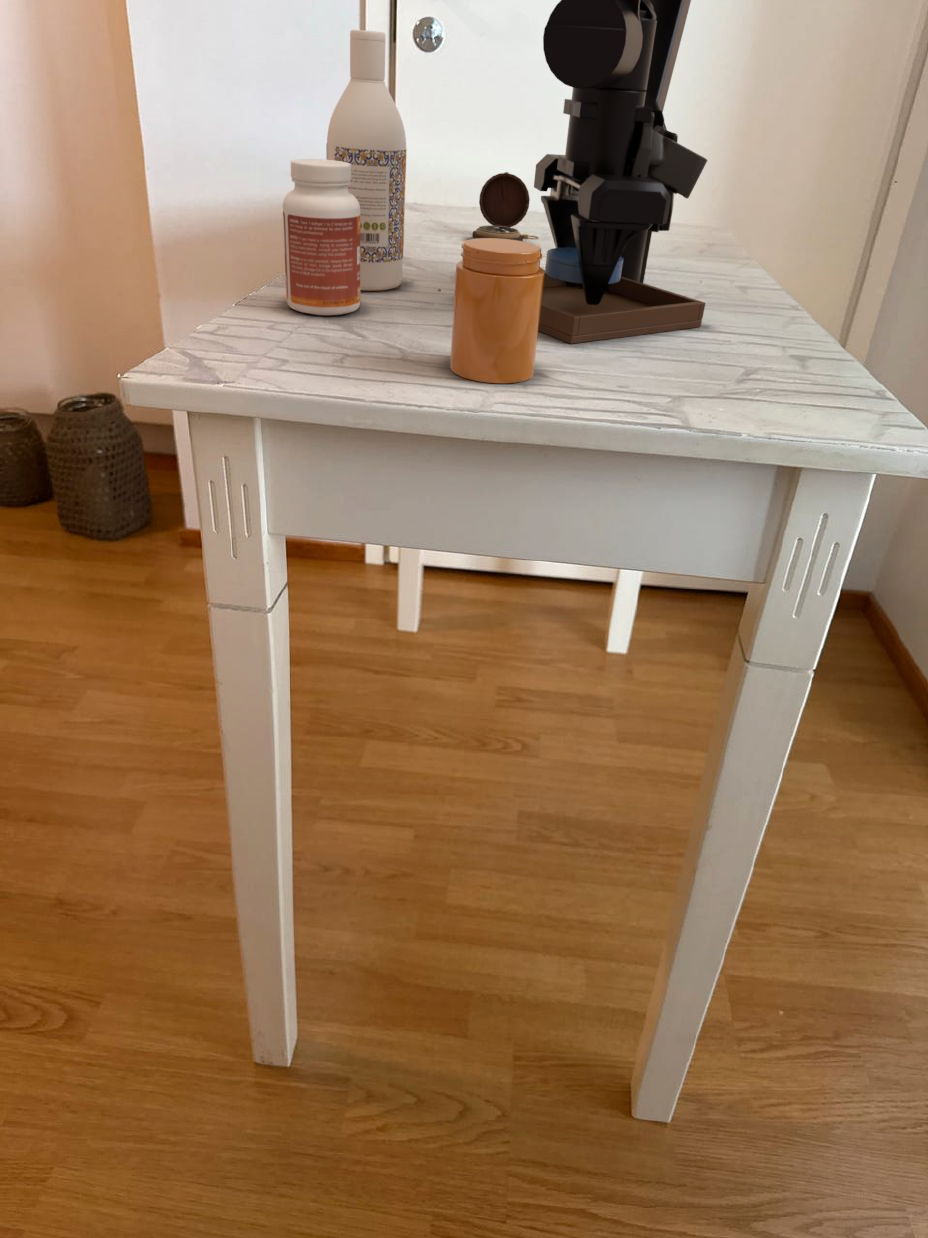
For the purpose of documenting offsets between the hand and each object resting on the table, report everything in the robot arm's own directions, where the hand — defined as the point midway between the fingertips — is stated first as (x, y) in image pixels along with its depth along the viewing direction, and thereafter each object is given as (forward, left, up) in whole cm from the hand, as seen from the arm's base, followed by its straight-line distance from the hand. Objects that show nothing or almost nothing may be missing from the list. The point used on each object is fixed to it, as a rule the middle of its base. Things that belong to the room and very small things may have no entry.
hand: (581, 295), depth 78 cm
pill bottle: (+20, -10, -2) cm, 22 cm away
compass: (-16, -32, -2) cm, 36 cm away
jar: (+17, +10, -2) cm, 20 cm away
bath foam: (+12, -17, -2) cm, 21 cm away
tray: (-1, -1, -2) cm, 2 cm away
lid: (0, 0, +3) cm, 3 cm away
